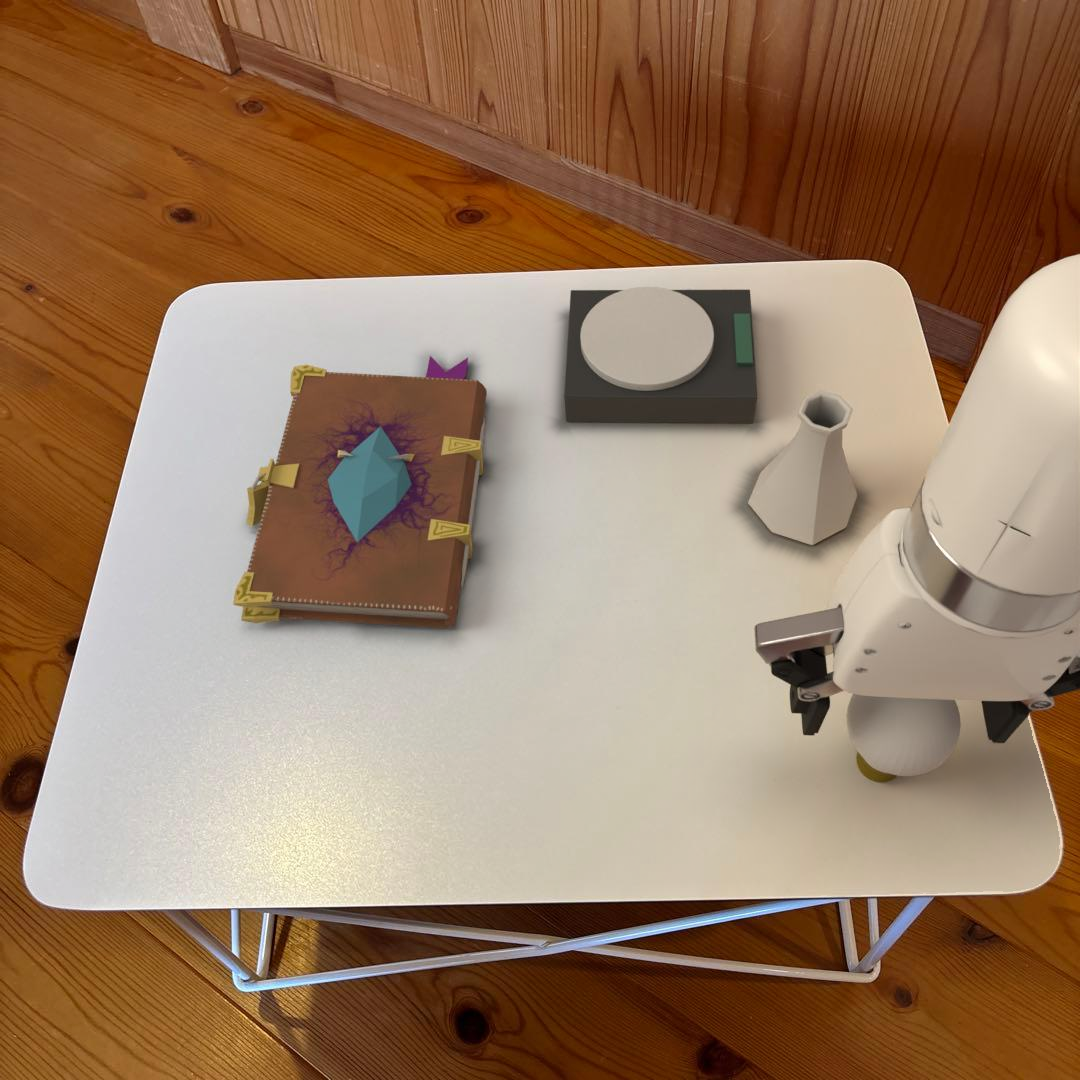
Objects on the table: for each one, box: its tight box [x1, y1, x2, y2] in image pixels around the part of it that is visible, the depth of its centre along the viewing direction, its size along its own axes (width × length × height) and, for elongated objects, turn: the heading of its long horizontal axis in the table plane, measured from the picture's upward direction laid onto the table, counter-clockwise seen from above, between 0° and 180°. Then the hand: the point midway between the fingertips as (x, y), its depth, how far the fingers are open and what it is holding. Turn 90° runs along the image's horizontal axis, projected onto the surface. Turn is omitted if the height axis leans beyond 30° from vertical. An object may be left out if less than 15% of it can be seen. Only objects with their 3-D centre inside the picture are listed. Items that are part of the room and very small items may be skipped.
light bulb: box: [846, 694, 962, 784], centre depth 59 cm, size 6×6×10 cm
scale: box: [563, 286, 758, 424], centre depth 79 cm, size 14×11×4 cm
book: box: [232, 355, 488, 629], centre depth 75 cm, size 16×25×5 cm, turn 176°
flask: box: [747, 390, 858, 546], centre depth 69 cm, size 7×7×10 cm
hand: (898, 713), depth 56 cm, fingers open, 9 cm apart
